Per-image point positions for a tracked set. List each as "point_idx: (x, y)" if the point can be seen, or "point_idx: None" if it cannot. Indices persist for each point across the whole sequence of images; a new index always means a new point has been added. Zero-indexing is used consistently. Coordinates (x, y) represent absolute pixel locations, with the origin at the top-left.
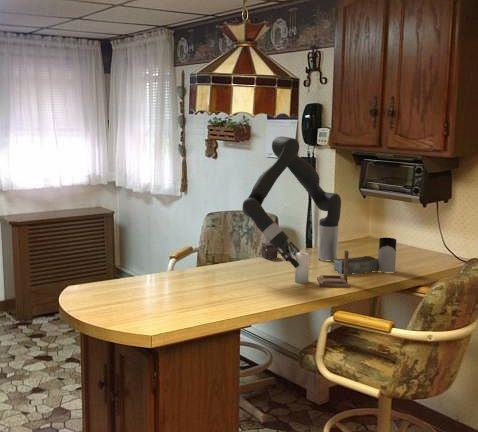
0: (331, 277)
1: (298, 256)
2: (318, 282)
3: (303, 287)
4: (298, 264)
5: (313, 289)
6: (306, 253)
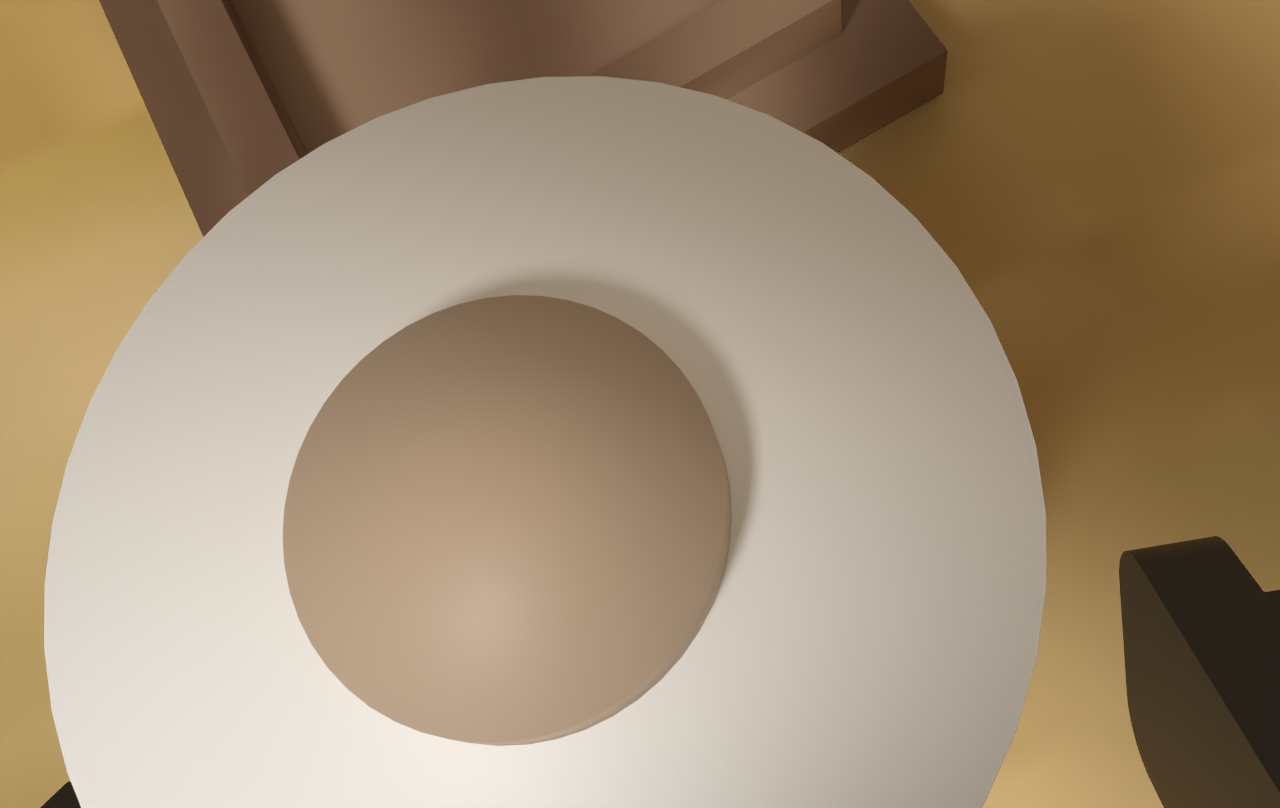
0: (266, 76)
1: (1022, 621)
2: None
3: (1257, 396)
4: (1220, 550)
5: (1243, 119)
6: (192, 363)
